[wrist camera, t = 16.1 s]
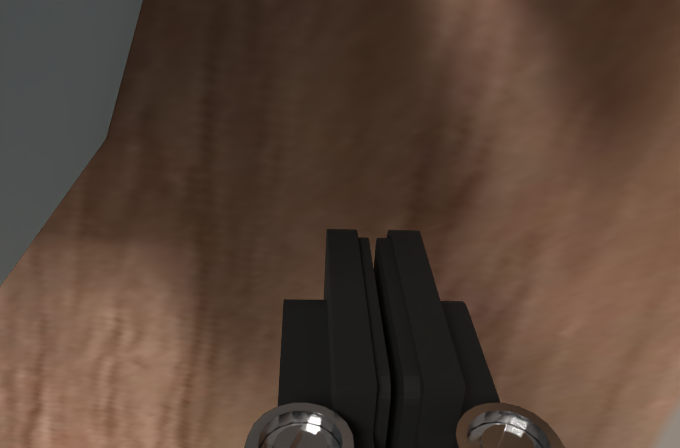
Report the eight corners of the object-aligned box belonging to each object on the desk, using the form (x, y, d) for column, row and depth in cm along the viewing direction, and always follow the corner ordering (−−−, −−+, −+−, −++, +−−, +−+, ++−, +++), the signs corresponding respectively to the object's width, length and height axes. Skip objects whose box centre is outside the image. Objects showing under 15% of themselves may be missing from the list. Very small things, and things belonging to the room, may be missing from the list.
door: (124, -283, 19) (-975, -1112, 3) (210, -240, 20) (-267, -708, 3) (40, 114, 25) (-465, 600, 9) (108, 138, 26) (-242, 636, 9)
